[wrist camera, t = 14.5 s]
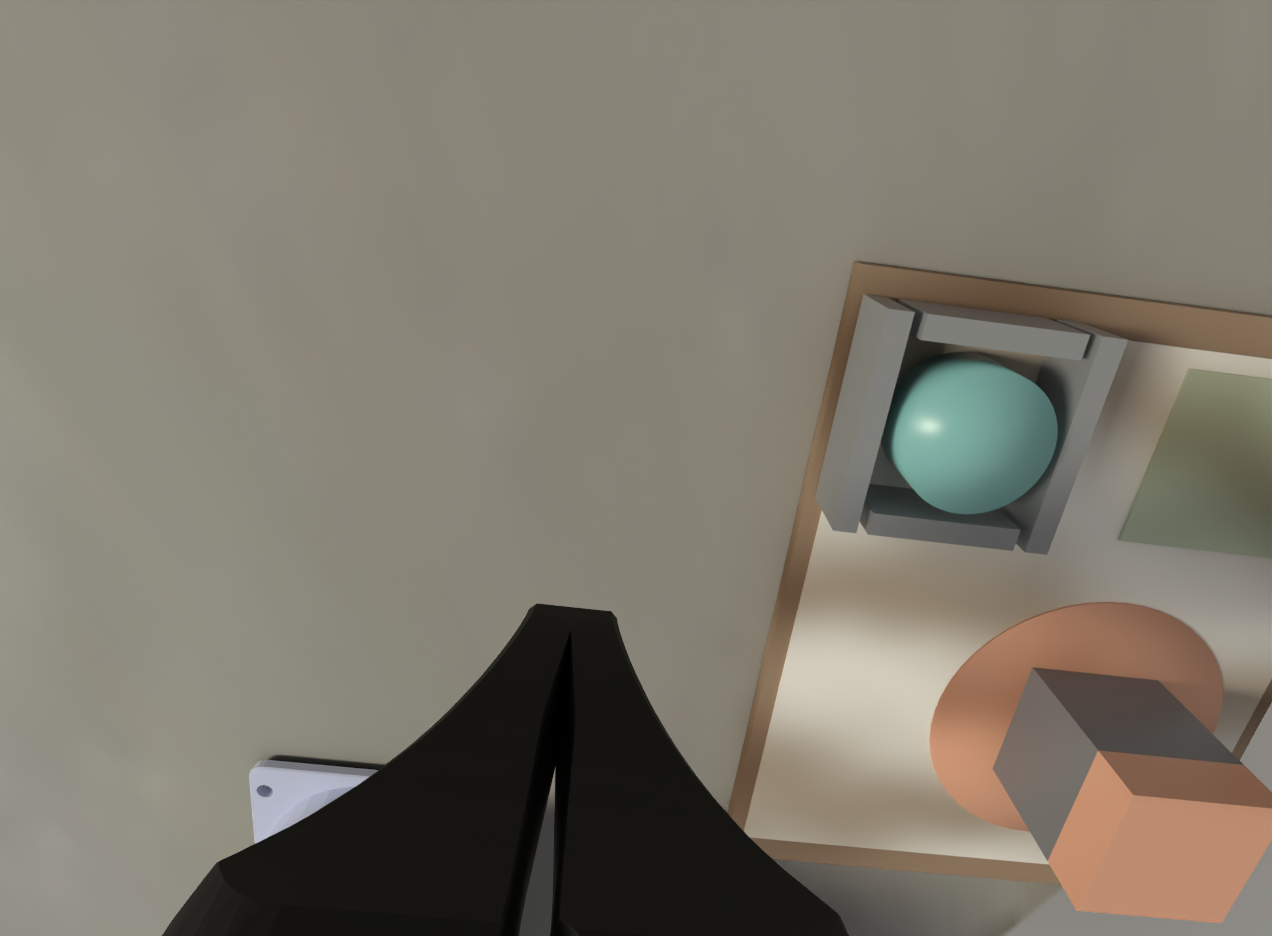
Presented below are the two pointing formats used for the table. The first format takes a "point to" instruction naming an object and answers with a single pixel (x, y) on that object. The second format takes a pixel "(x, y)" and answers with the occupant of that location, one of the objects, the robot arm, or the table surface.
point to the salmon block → (1132, 797)
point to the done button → (969, 432)
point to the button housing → (1067, 377)
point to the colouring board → (1016, 596)
